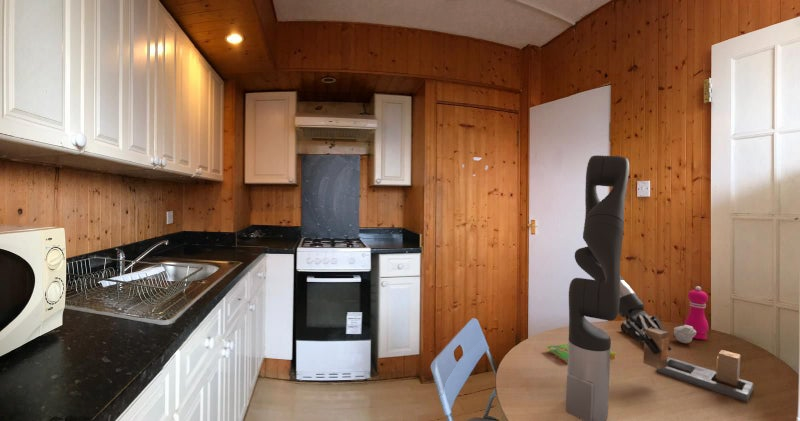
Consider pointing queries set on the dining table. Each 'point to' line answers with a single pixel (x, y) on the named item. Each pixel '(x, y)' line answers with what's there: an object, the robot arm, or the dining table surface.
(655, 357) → the tan wooden block
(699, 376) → the gray block holder
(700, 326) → the pepper mill
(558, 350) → the game box
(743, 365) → the dining table surface
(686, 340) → the crumpled paper ball
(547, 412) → the dining table surface
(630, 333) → the dark brown stick
